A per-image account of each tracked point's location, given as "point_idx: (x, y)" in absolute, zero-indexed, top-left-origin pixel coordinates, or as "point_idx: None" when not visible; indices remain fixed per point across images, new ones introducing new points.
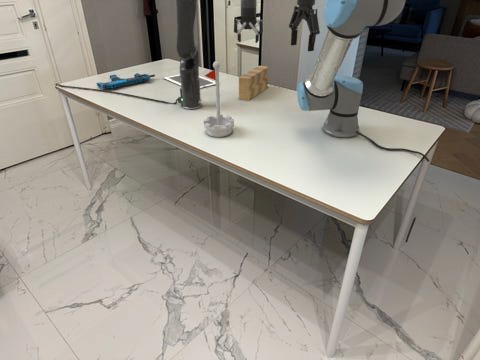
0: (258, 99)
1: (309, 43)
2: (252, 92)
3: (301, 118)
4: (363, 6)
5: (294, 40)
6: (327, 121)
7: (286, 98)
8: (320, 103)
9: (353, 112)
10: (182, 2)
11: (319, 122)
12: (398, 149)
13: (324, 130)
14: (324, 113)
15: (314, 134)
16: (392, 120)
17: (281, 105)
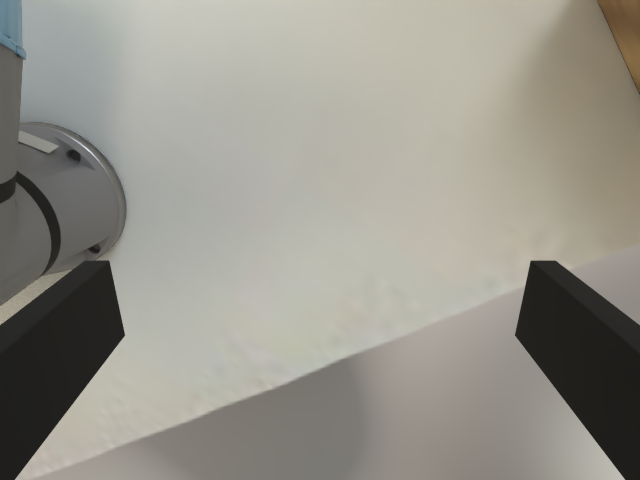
0: (566, 49)
1: (5, 322)
2: (633, 19)
3: (227, 120)
4: None
5: (558, 340)
6: (19, 138)
7: (486, 200)
8: None
9: None
10: None
11: (158, 169)
12: None
13: (49, 125)
14: (241, 248)
15: (40, 66)
16: (97, 412)
17: (418, 123)
